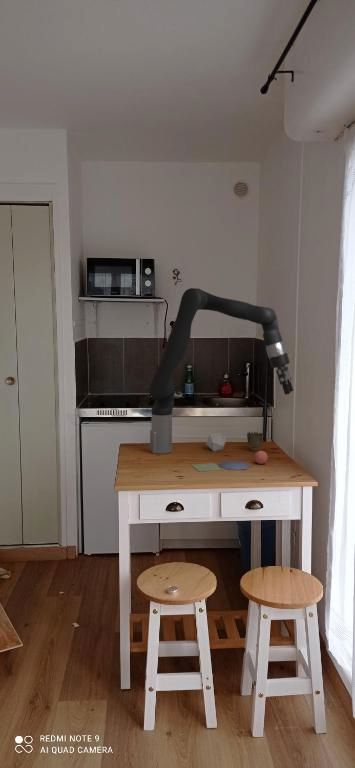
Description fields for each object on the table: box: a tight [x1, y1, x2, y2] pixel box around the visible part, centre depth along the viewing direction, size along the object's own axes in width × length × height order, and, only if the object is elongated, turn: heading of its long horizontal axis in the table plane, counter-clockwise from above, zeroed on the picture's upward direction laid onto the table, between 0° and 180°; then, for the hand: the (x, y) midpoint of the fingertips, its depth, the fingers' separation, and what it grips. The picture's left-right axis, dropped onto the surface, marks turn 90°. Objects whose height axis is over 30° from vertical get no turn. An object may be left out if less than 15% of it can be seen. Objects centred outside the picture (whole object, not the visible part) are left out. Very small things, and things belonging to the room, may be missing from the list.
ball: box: [254, 450, 268, 465], centre depth 242 cm, size 6×6×6 cm
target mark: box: [217, 460, 251, 471], centre depth 239 cm, size 13×13×1 cm
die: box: [205, 432, 227, 452], centre depth 265 cm, size 8×9×10 cm
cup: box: [246, 431, 264, 452], centre depth 265 cm, size 8×7×8 cm
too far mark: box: [191, 462, 224, 473], centre depth 236 cm, size 10×10×1 cm
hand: (289, 392), depth 236 cm, fingers open, 8 cm apart
